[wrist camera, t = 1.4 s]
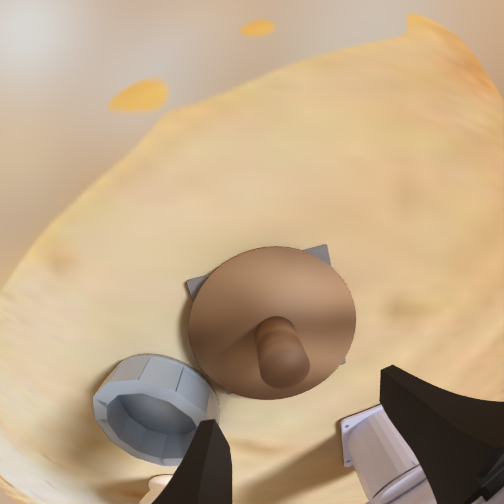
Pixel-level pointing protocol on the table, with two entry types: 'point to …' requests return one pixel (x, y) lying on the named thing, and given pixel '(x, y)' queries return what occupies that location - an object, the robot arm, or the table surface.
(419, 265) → the table surface
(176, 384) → the bowl
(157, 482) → the jar
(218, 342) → the lid
